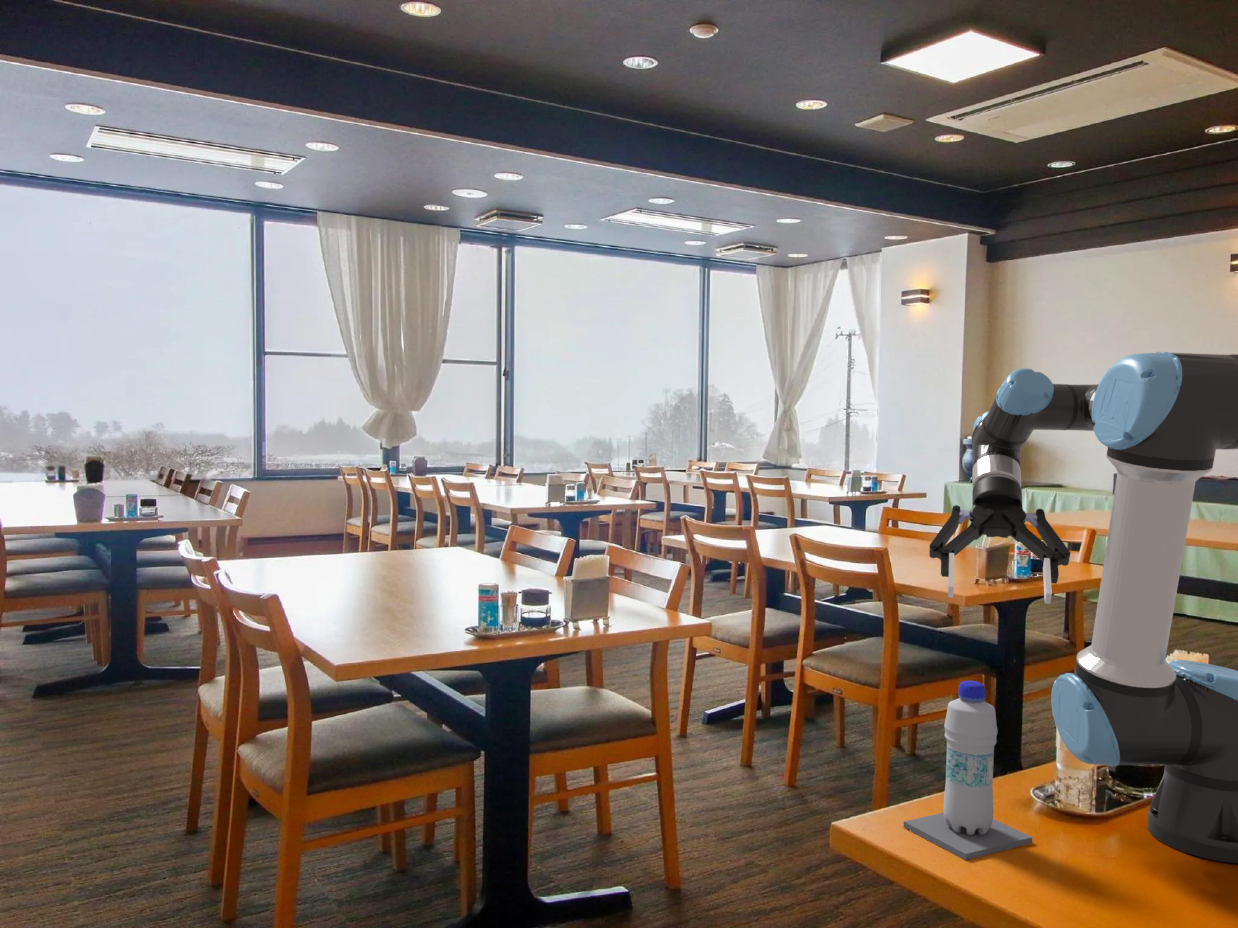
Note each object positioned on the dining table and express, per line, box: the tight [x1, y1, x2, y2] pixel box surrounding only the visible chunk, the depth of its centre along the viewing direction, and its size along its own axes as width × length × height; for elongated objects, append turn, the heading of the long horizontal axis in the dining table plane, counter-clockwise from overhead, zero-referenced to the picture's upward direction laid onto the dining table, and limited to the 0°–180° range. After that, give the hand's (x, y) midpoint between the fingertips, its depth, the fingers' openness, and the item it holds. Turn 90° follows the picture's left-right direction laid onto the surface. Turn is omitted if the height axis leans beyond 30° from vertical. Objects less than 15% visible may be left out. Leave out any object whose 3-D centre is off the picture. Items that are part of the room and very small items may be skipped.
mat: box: [903, 812, 1033, 861], centre depth 130 cm, size 11×12×1 cm
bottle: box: [942, 680, 999, 836], centre depth 129 cm, size 7×7×20 cm
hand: (998, 595), depth 145 cm, fingers open, 13 cm apart
